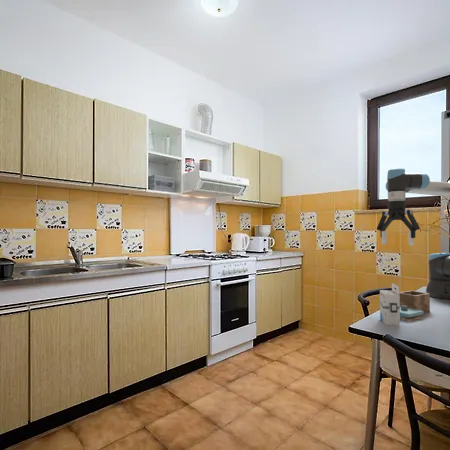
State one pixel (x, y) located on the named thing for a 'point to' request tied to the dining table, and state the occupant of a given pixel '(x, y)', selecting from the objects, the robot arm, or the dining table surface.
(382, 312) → the ink box
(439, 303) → the dining table surface
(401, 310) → the lid
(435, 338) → the dining table surface
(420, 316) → the trivet
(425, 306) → the box
